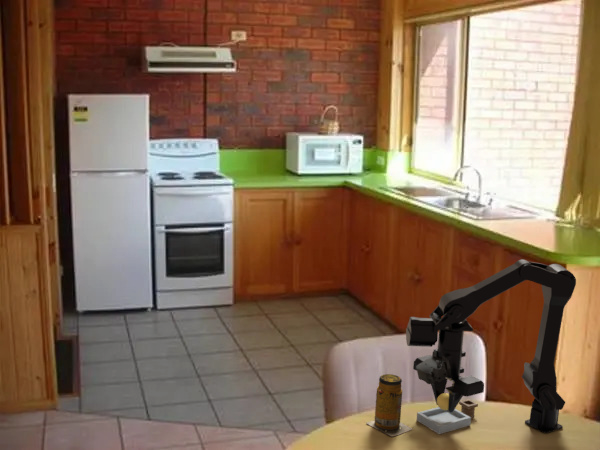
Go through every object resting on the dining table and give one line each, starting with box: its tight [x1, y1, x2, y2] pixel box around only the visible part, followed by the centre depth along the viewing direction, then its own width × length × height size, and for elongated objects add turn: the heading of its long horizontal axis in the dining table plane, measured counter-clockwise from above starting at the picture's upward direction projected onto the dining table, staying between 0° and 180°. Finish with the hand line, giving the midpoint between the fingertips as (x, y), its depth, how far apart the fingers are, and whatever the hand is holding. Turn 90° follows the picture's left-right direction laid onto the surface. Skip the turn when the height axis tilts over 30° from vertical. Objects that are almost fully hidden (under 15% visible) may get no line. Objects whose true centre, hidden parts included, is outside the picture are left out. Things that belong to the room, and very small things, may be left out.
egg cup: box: [458, 398, 479, 419], centre depth 184 cm, size 3×3×3 cm
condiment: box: [366, 373, 413, 437], centre depth 175 cm, size 7×8×12 cm
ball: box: [436, 392, 449, 410], centre depth 178 cm, size 4×4×4 cm
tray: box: [416, 406, 472, 435], centre depth 179 cm, size 10×8×2 cm
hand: (444, 408), depth 179 cm, fingers closed on ball, 4 cm apart
